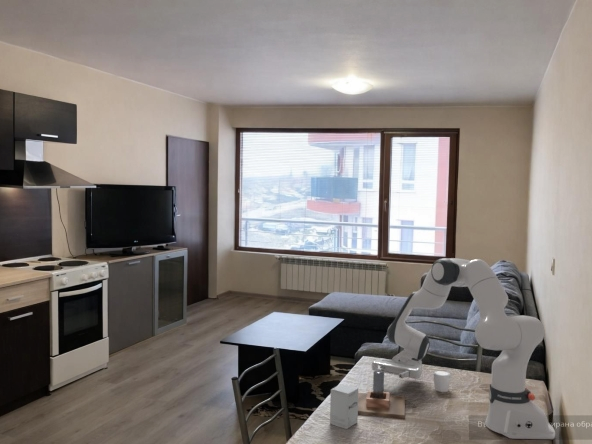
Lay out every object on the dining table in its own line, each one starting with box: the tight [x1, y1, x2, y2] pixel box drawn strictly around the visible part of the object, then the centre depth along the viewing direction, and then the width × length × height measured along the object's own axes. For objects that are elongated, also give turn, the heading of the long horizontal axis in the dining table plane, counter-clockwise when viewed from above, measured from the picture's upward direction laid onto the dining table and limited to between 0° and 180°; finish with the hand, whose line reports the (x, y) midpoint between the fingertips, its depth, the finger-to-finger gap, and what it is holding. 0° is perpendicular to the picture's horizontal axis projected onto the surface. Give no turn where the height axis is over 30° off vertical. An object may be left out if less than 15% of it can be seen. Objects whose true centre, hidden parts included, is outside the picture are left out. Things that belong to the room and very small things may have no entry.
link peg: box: [372, 370, 385, 399], centre depth 204 cm, size 4×4×12 cm
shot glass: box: [433, 370, 451, 393], centre depth 223 cm, size 7×7×7 cm
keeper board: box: [358, 390, 406, 419], centre depth 204 cm, size 20×18×4 cm
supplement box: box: [329, 383, 359, 430], centre depth 189 cm, size 7×7×13 cm
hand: (389, 373), depth 214 cm, fingers open, 8 cm apart
